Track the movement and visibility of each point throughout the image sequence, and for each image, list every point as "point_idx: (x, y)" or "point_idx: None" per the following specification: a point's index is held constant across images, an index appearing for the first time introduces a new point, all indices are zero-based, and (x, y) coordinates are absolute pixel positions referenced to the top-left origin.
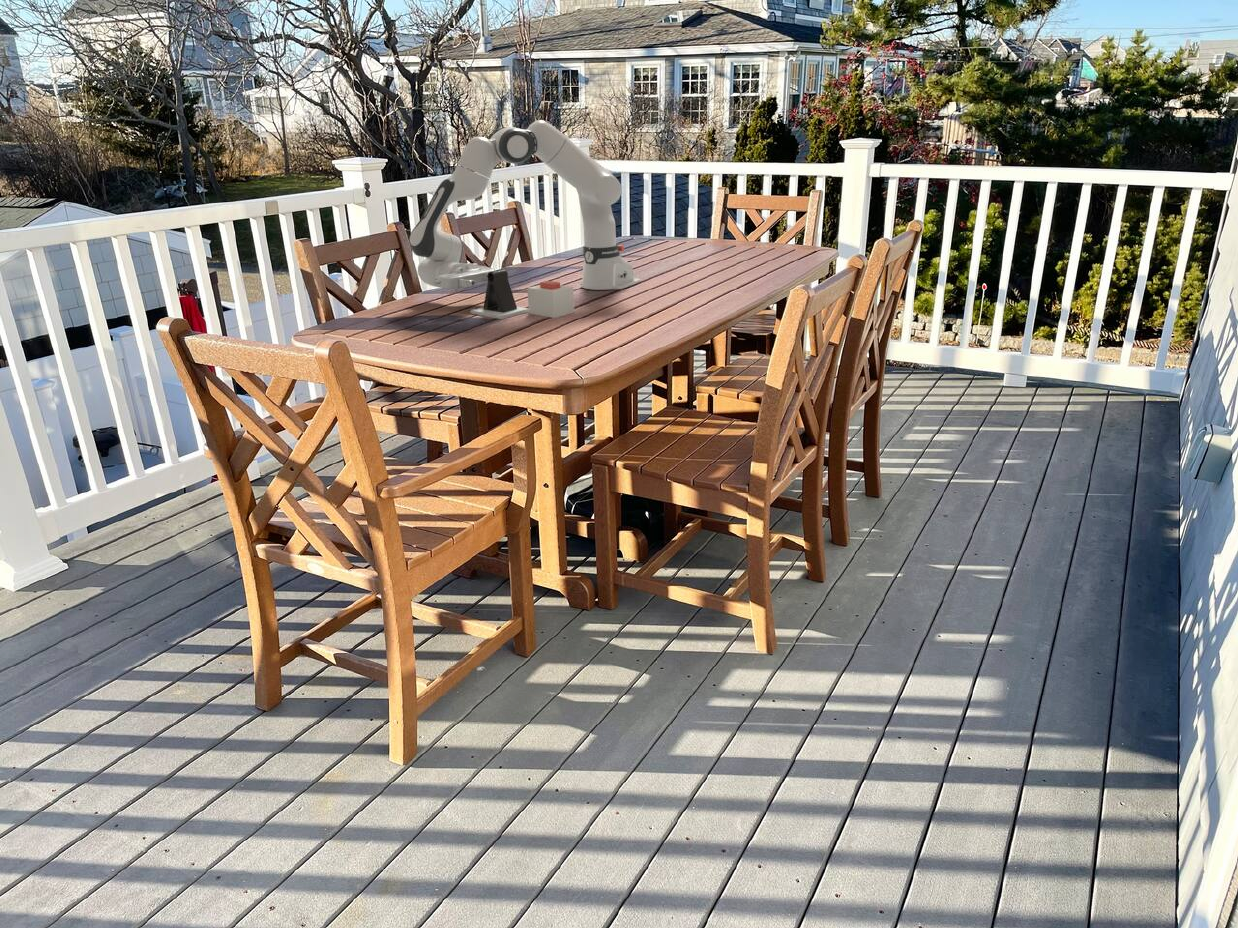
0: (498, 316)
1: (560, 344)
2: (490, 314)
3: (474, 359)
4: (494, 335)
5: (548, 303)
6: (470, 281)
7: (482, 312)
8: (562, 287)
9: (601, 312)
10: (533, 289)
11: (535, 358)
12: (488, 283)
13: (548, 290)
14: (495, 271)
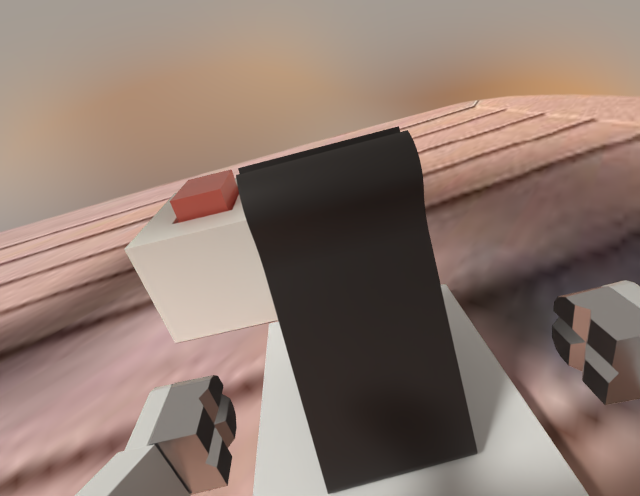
0: (450, 296)
1: (428, 146)
2: (476, 332)
3: (628, 114)
4: (543, 184)
5: None
6: (620, 281)
7: (512, 383)
8: None
9: None
10: None
11: (504, 119)
12: (425, 230)
13: None
14: (332, 153)
